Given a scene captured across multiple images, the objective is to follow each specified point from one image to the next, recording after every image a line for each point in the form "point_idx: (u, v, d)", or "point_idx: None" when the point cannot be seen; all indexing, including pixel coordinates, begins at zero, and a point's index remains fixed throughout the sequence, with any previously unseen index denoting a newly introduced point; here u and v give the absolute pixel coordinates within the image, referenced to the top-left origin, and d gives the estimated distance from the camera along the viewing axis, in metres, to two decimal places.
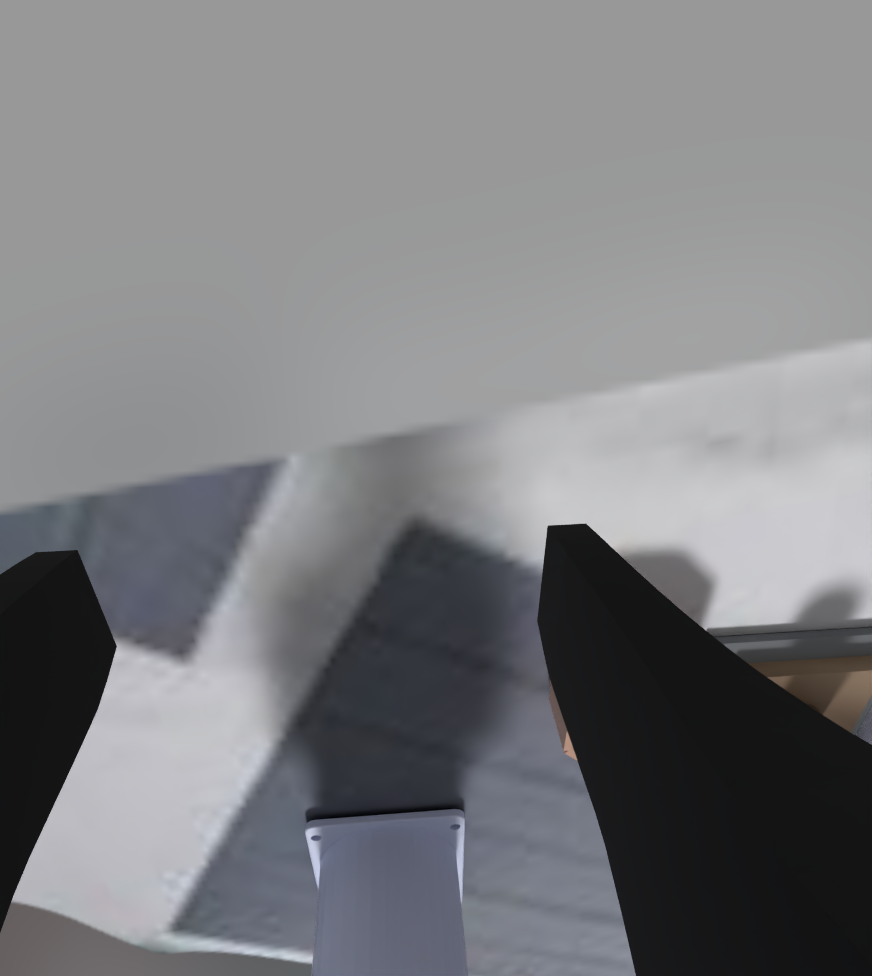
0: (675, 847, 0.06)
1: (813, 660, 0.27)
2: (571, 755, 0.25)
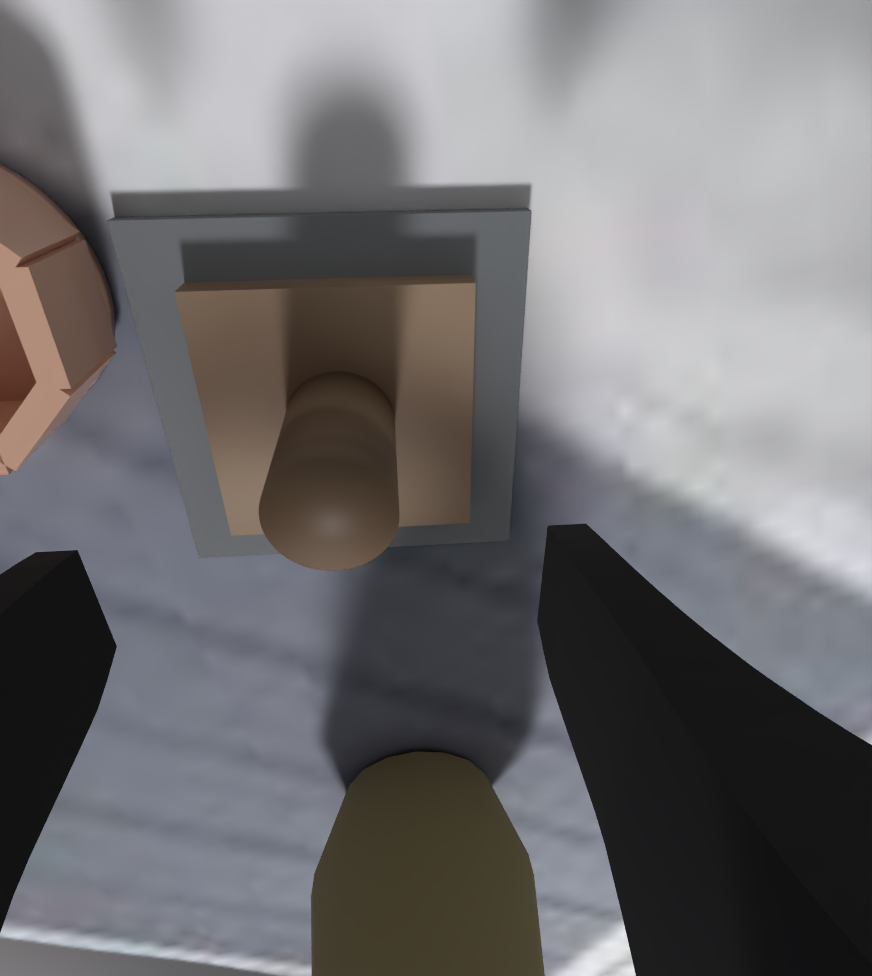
0: (675, 847, 0.06)
1: (352, 282, 0.14)
2: None
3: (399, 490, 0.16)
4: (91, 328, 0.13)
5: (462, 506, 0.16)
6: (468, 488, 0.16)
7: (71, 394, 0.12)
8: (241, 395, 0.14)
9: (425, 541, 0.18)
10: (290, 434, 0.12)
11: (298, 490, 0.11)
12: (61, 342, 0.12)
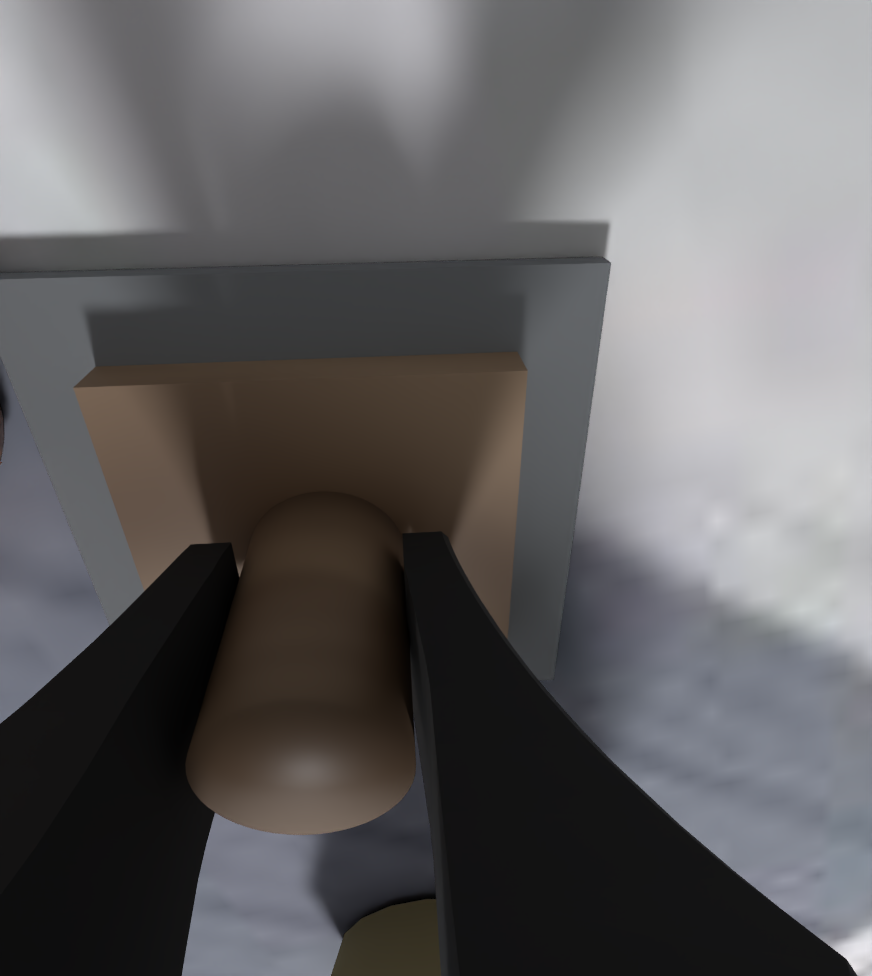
0: (439, 866, 0.06)
1: (345, 363, 0.09)
2: None
3: None
4: None
5: None
6: (505, 632, 0.12)
7: None
8: (183, 524, 0.10)
9: None
10: (243, 624, 0.08)
11: (248, 743, 0.07)
12: None
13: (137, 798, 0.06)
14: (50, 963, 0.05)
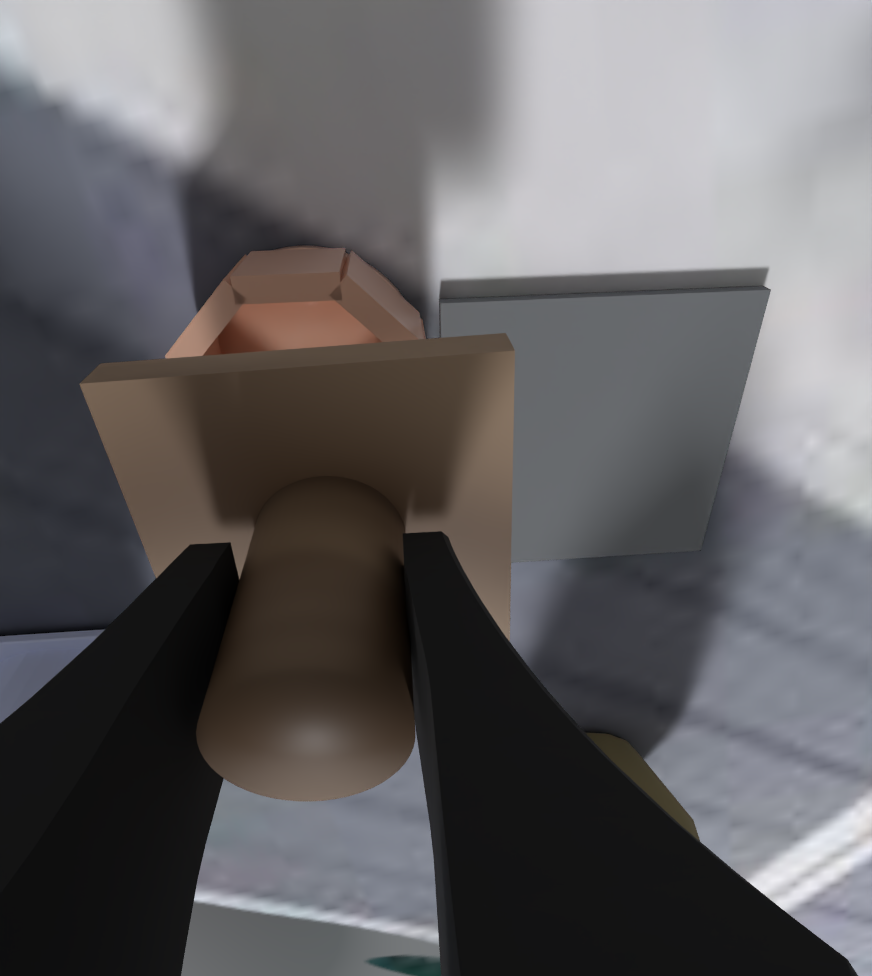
0: (440, 867, 0.06)
1: (338, 351, 0.10)
2: None
3: None
4: None
5: None
6: (507, 609, 0.12)
7: None
8: (190, 512, 0.10)
9: (631, 551, 0.21)
10: (247, 602, 0.08)
11: (254, 711, 0.07)
12: None
13: (136, 798, 0.06)
14: (48, 963, 0.05)
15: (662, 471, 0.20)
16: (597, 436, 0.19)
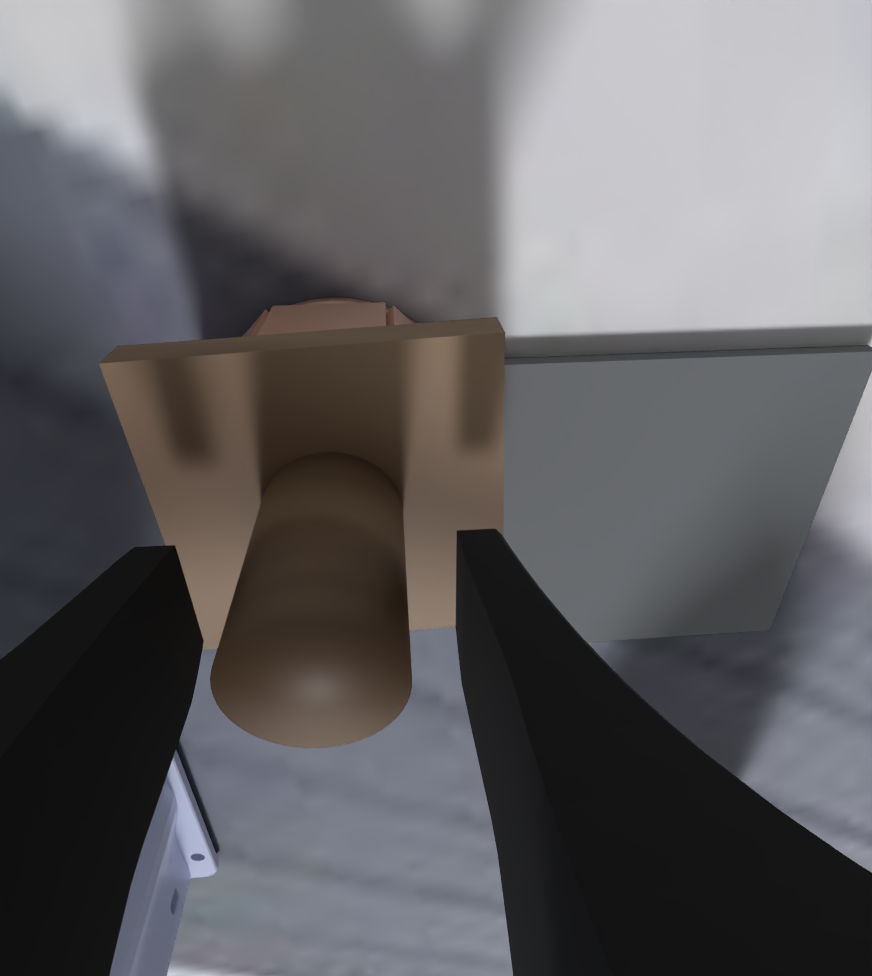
0: (528, 858, 0.06)
1: (340, 334, 0.10)
2: None
3: (412, 589, 0.13)
4: None
5: None
6: None
7: None
8: (201, 487, 0.11)
9: (692, 632, 0.19)
10: (256, 562, 0.09)
11: (264, 658, 0.08)
12: None
13: (52, 804, 0.06)
14: None
15: (735, 548, 0.17)
16: (665, 511, 0.16)
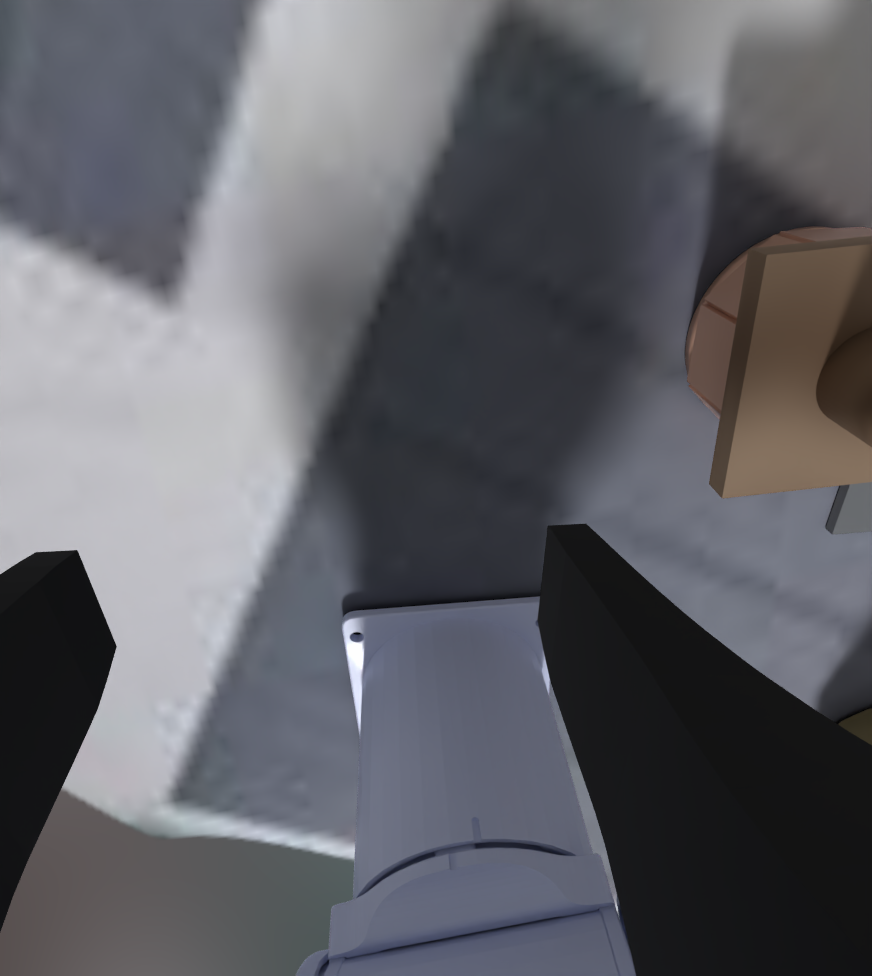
0: (675, 847, 0.06)
1: None
2: None
3: None
4: None
5: None
6: None
7: None
8: (787, 354, 0.15)
9: None
10: None
11: None
12: None
13: None
14: None
15: None
16: None
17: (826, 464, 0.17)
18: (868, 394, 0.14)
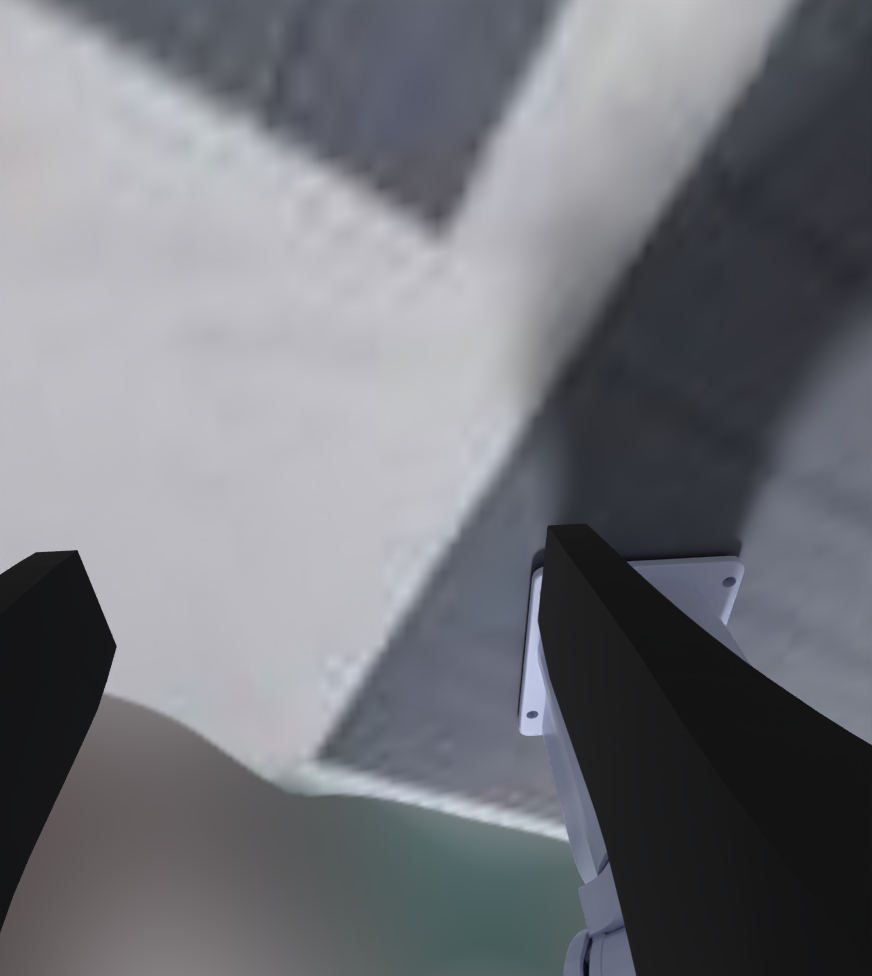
0: (675, 847, 0.06)
1: None
2: None
3: None
4: None
5: None
6: None
7: None
8: None
9: None
10: None
11: None
12: None
13: None
14: None
15: None
16: None
17: None
18: None
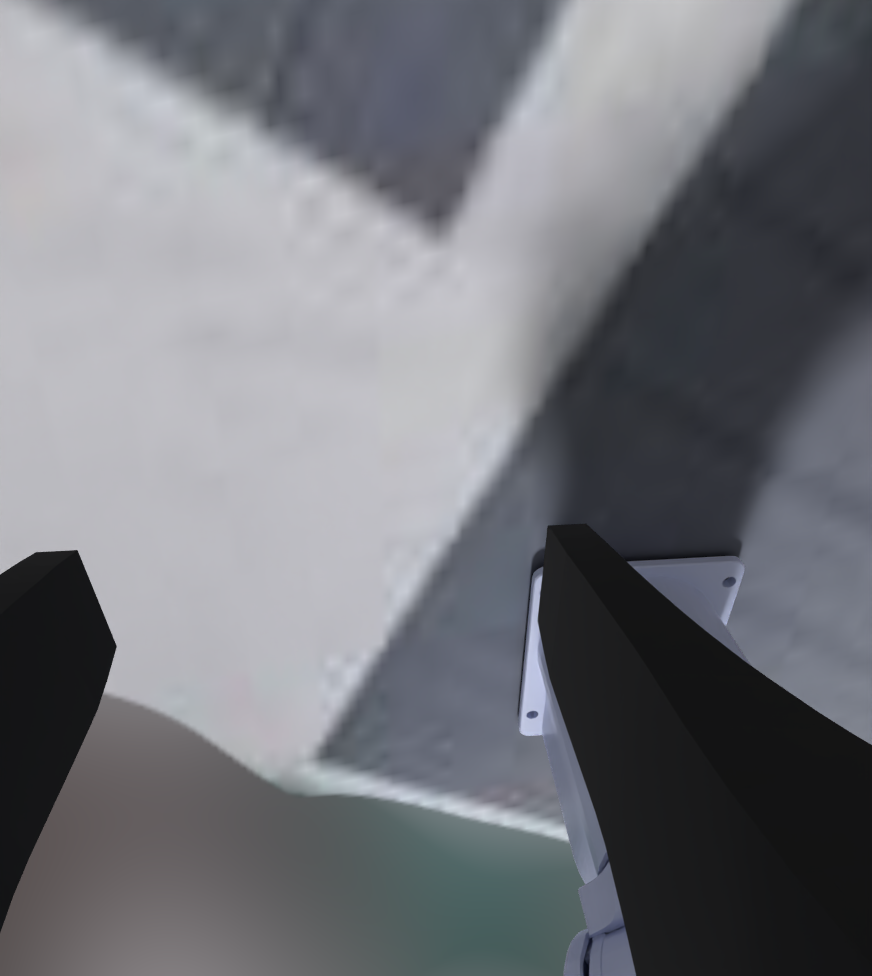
0: (675, 847, 0.06)
1: None
2: None
3: None
4: None
5: None
6: None
7: None
8: None
9: None
10: None
11: None
12: None
13: None
14: None
15: None
16: None
17: None
18: None
